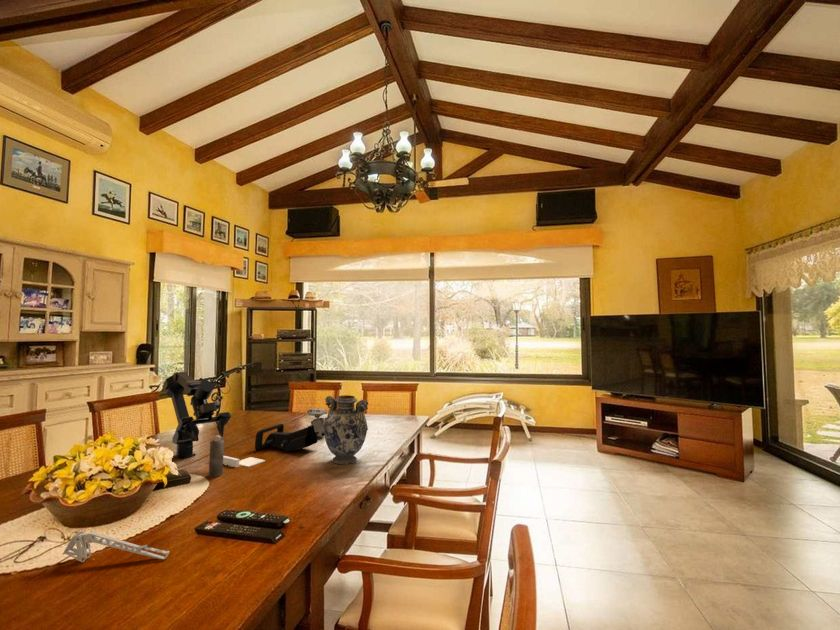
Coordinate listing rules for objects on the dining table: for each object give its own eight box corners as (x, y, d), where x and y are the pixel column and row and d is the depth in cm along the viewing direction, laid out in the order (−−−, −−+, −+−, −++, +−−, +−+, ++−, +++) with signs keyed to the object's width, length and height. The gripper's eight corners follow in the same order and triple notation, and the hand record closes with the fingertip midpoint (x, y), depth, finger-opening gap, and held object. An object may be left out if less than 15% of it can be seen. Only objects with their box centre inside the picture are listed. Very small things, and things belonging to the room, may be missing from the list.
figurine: (307, 434, 221) (308, 406, 222) (328, 435, 221) (329, 407, 222) (302, 438, 212) (303, 409, 213) (324, 439, 212) (325, 410, 212)
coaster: (233, 463, 170) (233, 462, 170) (250, 457, 178) (250, 457, 178) (248, 467, 166) (248, 466, 166) (265, 461, 174) (265, 460, 174)
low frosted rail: (211, 461, 172) (211, 454, 172) (214, 460, 173) (214, 453, 174) (236, 467, 166) (236, 460, 166) (239, 466, 167) (239, 459, 167)
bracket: (71, 548, 99) (93, 511, 100) (151, 586, 100) (172, 548, 101) (61, 555, 96) (83, 517, 97) (144, 594, 97) (165, 556, 98)
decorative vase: (376, 457, 183) (377, 395, 184) (356, 470, 166) (357, 401, 167) (334, 451, 190) (335, 392, 191) (311, 464, 173) (313, 398, 174)
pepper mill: (205, 475, 155) (207, 435, 156) (216, 472, 160) (218, 433, 160) (214, 478, 153) (216, 437, 154) (225, 474, 158) (227, 434, 158)
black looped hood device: (305, 448, 180) (295, 415, 183) (258, 465, 188) (249, 434, 190) (326, 438, 197) (316, 409, 199) (282, 455, 204) (273, 426, 207)
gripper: (181, 397, 159) (190, 430, 151) (230, 392, 173) (240, 423, 165) (173, 414, 164) (182, 447, 156) (221, 408, 178) (231, 439, 170)
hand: (210, 438), depth 162 cm, fingers open, 9 cm apart
